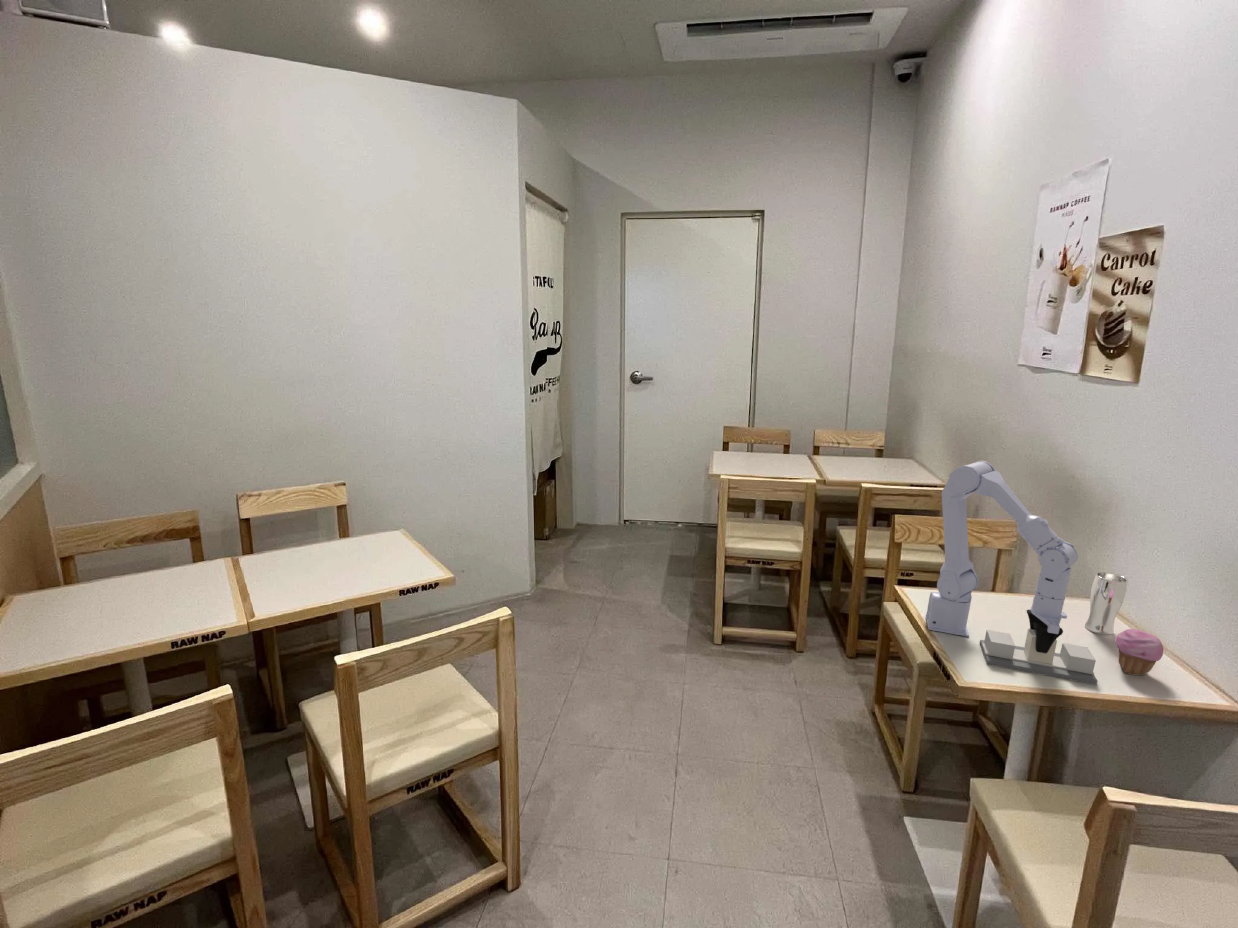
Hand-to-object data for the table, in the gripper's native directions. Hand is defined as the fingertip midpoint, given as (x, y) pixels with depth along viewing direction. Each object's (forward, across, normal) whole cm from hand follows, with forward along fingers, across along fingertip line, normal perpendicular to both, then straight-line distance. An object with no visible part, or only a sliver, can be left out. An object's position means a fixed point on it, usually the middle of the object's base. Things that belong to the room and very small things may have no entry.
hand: (1038, 646), depth 152 cm
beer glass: (+4, +25, -20) cm, 32 cm away
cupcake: (+4, +5, -21) cm, 22 cm away
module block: (+3, 0, 0) cm, 3 cm away
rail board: (+4, 0, 0) cm, 4 cm away
